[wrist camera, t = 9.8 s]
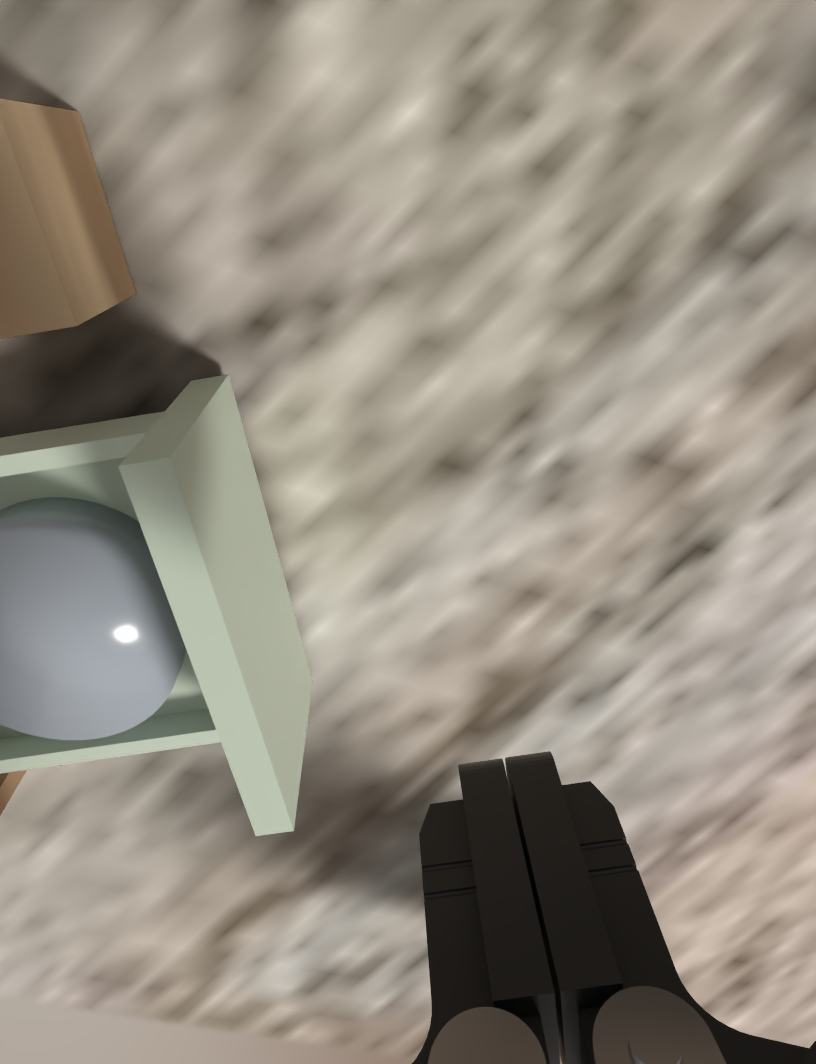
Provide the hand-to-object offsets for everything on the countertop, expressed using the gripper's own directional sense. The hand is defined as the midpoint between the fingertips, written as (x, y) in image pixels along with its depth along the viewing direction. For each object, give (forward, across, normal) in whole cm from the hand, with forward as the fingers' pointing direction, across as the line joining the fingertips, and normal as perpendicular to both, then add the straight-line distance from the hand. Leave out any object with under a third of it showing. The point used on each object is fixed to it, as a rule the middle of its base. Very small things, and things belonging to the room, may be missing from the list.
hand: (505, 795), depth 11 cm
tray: (+11, +11, 0) cm, 15 cm away
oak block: (+11, +9, -9) cm, 17 cm away
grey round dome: (+9, +10, 0) cm, 14 cm away
